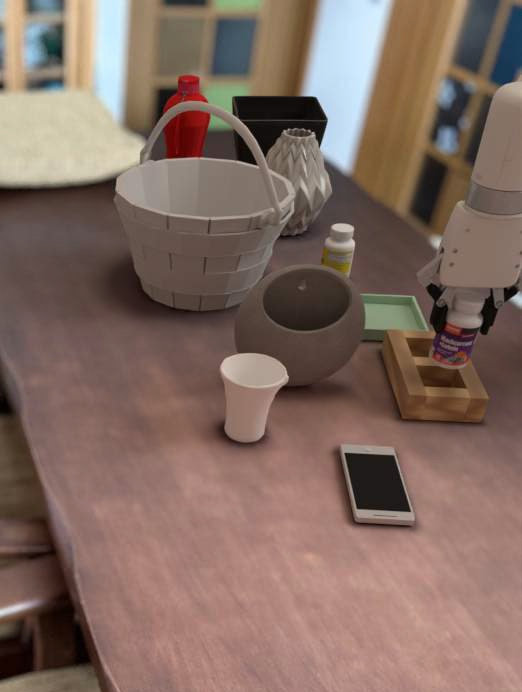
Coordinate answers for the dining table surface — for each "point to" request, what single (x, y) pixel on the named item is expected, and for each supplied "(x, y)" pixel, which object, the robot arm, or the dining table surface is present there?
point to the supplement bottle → (339, 248)
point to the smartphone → (376, 485)
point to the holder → (430, 381)
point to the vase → (301, 176)
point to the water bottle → (186, 122)
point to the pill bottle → (458, 331)
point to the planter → (302, 321)
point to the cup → (250, 393)
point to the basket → (202, 220)
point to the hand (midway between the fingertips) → (459, 328)
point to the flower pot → (275, 120)
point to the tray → (391, 315)
